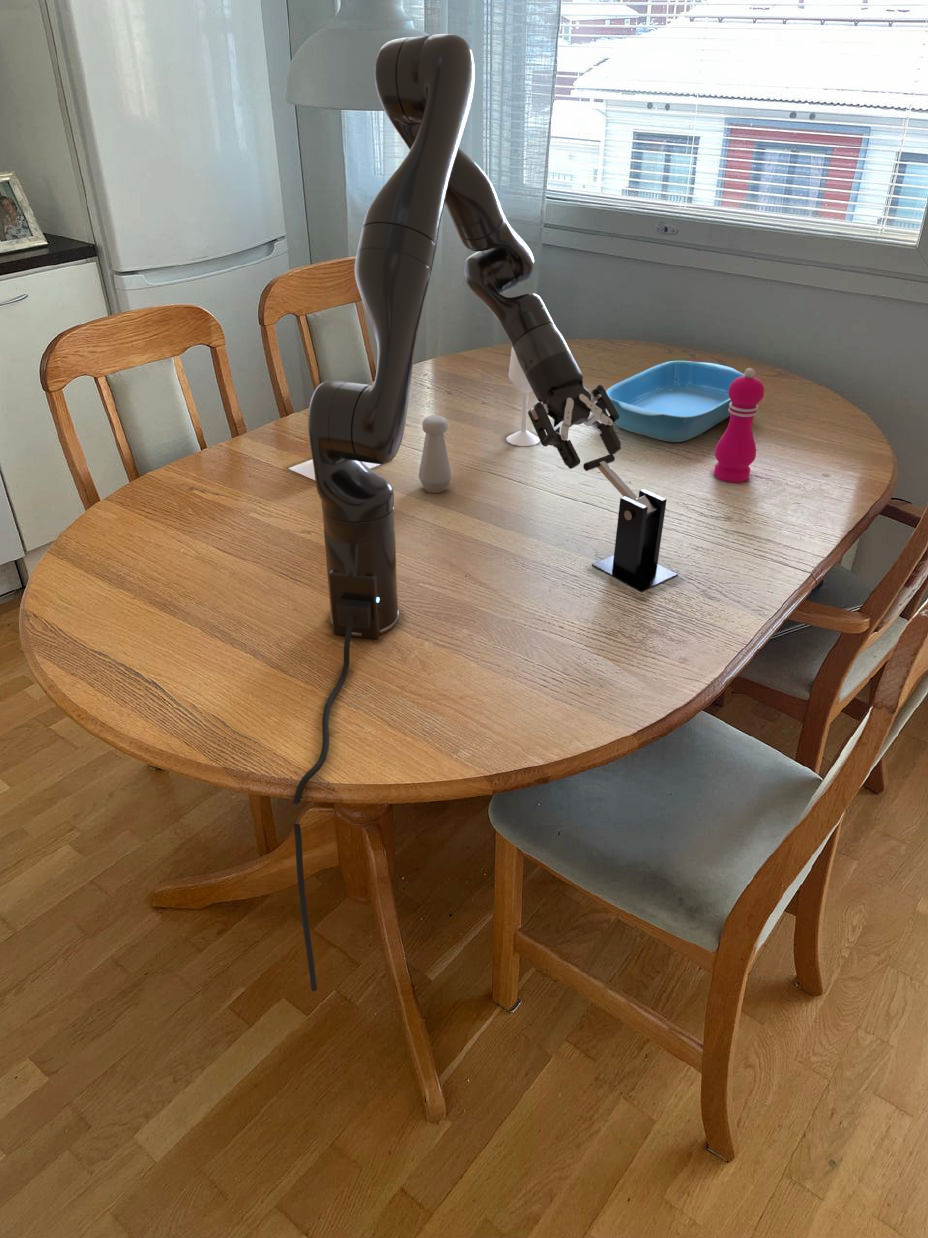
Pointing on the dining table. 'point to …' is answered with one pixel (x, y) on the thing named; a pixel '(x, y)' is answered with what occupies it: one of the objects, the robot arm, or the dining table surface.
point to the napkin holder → (308, 468)
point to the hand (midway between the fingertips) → (596, 459)
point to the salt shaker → (435, 456)
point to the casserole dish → (674, 399)
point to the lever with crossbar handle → (618, 481)
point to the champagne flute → (522, 385)
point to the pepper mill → (739, 429)
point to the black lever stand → (638, 545)
